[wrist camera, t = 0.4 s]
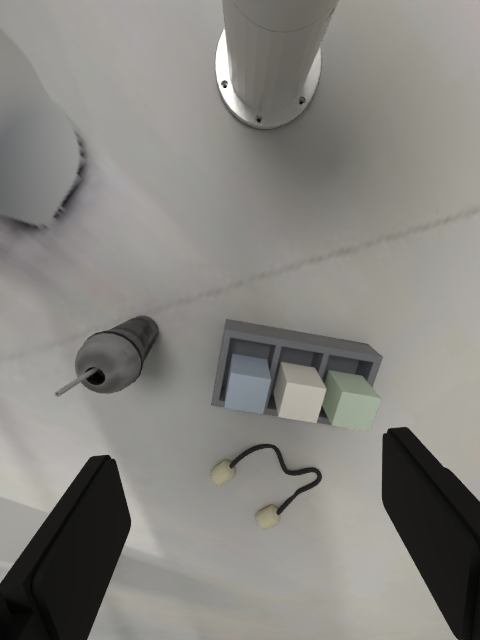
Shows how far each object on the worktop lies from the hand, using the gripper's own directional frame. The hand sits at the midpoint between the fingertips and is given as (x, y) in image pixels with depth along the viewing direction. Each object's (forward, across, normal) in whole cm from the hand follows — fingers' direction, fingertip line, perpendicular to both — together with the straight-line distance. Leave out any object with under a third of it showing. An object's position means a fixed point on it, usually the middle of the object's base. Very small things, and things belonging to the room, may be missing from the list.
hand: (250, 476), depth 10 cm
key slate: (+30, +1, +10) cm, 32 cm away
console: (+35, -6, +12) cm, 37 cm away
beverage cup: (+35, +16, +3) cm, 38 cm away
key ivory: (+30, -6, +12) cm, 33 cm away
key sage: (+30, -13, +14) cm, 36 cm away
